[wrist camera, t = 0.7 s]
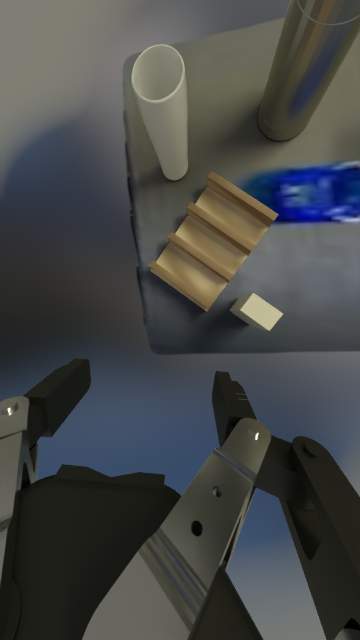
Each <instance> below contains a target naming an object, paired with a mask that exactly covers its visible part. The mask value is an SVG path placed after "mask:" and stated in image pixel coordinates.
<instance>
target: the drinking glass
mask: <svg viewBox="0 0 360 640" xmlns="http://www.w3.org/2000/svg"><path fill="white" fill-rule="evenodd" d="M131 79H132V86H133V90H134V94H135V97H136V101H137V104H138V108H139V111H140V114H141V117H142V120H143V123H144V125H145V128H146V130H147V133H148V135H149V138H150V140H151V143H152V145H153V148H154V150H155V153H156V155H157V158H158V160H159V163H160V165H161V169H162V172H163V174H164V175H165V177H166V178H168V179H170V180H179V179H181V178H182V177H183V176H184V175H185V174H186V172H187V170H188V99H187V85H186V76H185V67H184V62H183V59H182V57H181V55H180V54H179V52H178V51H177V50H176V49H174V48H173V47H171V46H169V45H164V44H159V45H154V46H151V47H149V48H147V49H146V50H145V51H143V52H142V53H141V54H140V56H139V57H138V58H137V60H136V62H135V64H134V66H133V70H132V77H131Z"/></svg>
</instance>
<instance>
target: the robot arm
mask: <svg viewBox="0 0 360 640" xmlns="http://www.w3.org/2000/svg"><path fill="white" fill-rule="evenodd" d="M359 32H360V0H290V4H289V7H288V11H287V15H286V18H285V21H284V25H283V28H282V32H281V35H280V39H279V43H278V46H277V50H276V53H275V57H274V60H273V64H272V67H271V71H270V74H269V78H268V81H267V85H266V88H265V92H264V95H263V99H262V102H261V106H260V109H259V114H258V123H259V127H260V129H261V131H262V132H263V133H264V135H266V136H267V137H268V138H270V139H272V140H276V141H285V140H289V139H292V138H294V137H296V136H297V135H299V134H300V133H301V132H302V131H303V130H304V128H305V127H306V126H307V124H308V122H309V120H310V119H311V117H312V115H313V113H314V111H315V110H316V108H317V106H318V104H319V103H320V101H321V99H322V97H323V96H324V94H325V92H326V90H327V89H328V87H329V85H330V83H331V81H332V80H333V78H334V76H335V74H336V72H337V71H338V69H339V67H340V65H341V64H342V62H343V60H344V58H345V56H346V55H347V53H348V51H349V49H350V48H351V46H352V44H353V42H354V40H355V39H356V37H357V35H358V33H359ZM90 383H91V376H90V364H89V360H88V359H79V358H75V359H73V360H72V361H71V362H69V363H68V364H67V365H64V366H62V367H60V368H58V369H56V370H55V371H53V372H52V373H51V374H50V375H49V376H47V377H46V378H45V379H44V380H43V381H41V382H40V383H39V384H37V385H36V386H35V387H33V388H32V389H31V390H30V391H28V392H27V393H26V394H25V395H24V396H20V397H19V396H18V397H12V398H9V399H6V400H3V401H1V402H0V640H263V638H262V636H261V634H260V633H259V631H258V629H257V627H256V625H255V623H254V622H253V620H252V618H251V616H250V614H249V613H248V611H247V609H246V608H245V605H244V604H243V602H242V600H241V598H240V596H239V595H238V593H237V591H236V589H235V587H234V585H233V584H232V582H231V580H230V578H229V576H228V575H227V573H226V570H227V567H228V564H229V561H230V559H231V556H232V554H233V551H234V548H235V545H236V542H237V539H238V536H239V533H240V530H241V528H242V525H243V522H244V519H245V517H246V514H247V511H248V509H249V506H250V503H251V501H252V498H253V495H254V493H255V490H256V487H257V488H259V489H261V490H263V491H266V492H268V493H270V494H272V495H274V496H276V497H278V498H279V500H280V503H281V506H282V509H283V512H284V515H285V518H286V521H287V524H288V527H289V530H290V533H291V535H292V539H293V541H294V545H295V547H296V550H297V553H298V556H299V559H300V562H301V565H302V568H303V571H304V574H305V577H306V580H307V583H308V586H309V589H310V592H311V595H312V598H313V601H314V604H315V606H316V609H317V613H318V616H319V618H320V621H321V625H322V627H323V630H324V633H325V636H326V639H327V640H360V497H359V495H358V494H357V492H356V491H355V490H354V488H353V487H352V485H351V484H350V482H349V481H348V479H347V478H346V476H345V475H344V473H343V472H342V471H341V469H340V468H339V466H338V465H337V463H336V462H335V460H334V459H333V457H332V456H331V455H330V453H329V452H328V451H327V450H326V449H325V448H324V447H323V446H322V445H320V444H319V443H318V442H316V441H314V440H312V439H310V438H307V437H303V436H298V437H295V438H294V439H293V441H292V443H290V442H287V441H284V440H282V439H279V438H276V437H274V436H272V435H271V434H270V432H269V430H268V429H267V427H266V426H265V425H264V424H262V423H261V422H259V421H257V419H256V416H255V414H254V412H253V410H252V407H251V405H250V403H249V401H248V398H247V396H246V395H245V392H244V390H243V387H242V386H241V385H240V384H239V383H238V382H237V381H231V378H230V375H229V373H228V372H219V371H216V373H215V378H214V384H213V391H212V404H213V409H214V416H215V421H216V427H217V433H218V439H219V444H220V450H219V449H218V448H216V449H215V450H214V451H213V452H212V453H211V455H210V456H209V458H208V459H207V461H206V462H205V464H204V465H203V466H202V468H201V469H200V471H199V472H198V473H197V475H196V476H195V478H194V479H193V481H192V482H191V483H190V485H189V486H188V488H187V489H186V491H185V492H184V493H183V495H182V496H181V495H180V494H179V493H177V492H176V491H175V490H173V489H172V488H170V487H168V486H166V485H164V479H165V475H162V474H153V473H143V472H138V473H132V474H127V475H121V476H116V477H109V476H106V475H104V474H102V473H99V472H97V471H95V470H93V469H91V468H89V467H83V466H72V465H62V466H61V467H60V469H59V470H58V472H57V474H56V475H52V476H49V477H45V478H43V479H40V480H38V481H37V463H38V443H37V441H38V439H39V438H40V437H41V436H43V437H52V436H53V435H54V433H55V432H56V431H57V429H58V428H59V427H60V425H61V424H62V423H63V422H64V421H65V419H66V418H67V416H68V415H69V414H70V413H71V412H72V410H73V409H74V408H75V406H76V405H77V404H78V403H79V401H80V400H81V399H82V397H83V396H84V395H85V394H86V392H87V391H88V389H89V387H90Z"/></svg>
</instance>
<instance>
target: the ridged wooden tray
mask: <svg viewBox="0 0 360 640" xmlns="http://www.w3.org/2000/svg"><path fill="white" fill-rule="evenodd" d="M187 211H188V215H187V217H186V218H185V220H184V221H183V223H182V224H181V226H180V227H179V229H178V230H177V232H176V233H175V234H174V233H173V232H170V233H169V235H168V236H167V238H168V240H169V243H168V245H167V246H166V248H165V249H164V251H163V252H162V254H161V255H160V257H159V258H158V260H157V261H156V262H154V261H153V260H151V262H150V263H149V266H150V267H151V268H152V269H151V270H150V271H151V272H153V273H154V274H155V275H157V276H158V277H160V278H161V279H162V280H164V281H165V282H166V283H168V284H169V285H171V286H172V287H173V288H175V289H176V290H178V291H179V292H180V293H182V294H183V295H184V296H186V297H187V298H189V299H190V300H191V301H193V302H194V303H196V304H197V305H198V306H200V307H201V308H202V309H204V310H205V311H207V310H208V309H209V308H210V307H211V305H212V304H213V302H214V301H215V300H216V298H217V297H218V295H219V294H220V293H221V291H222V290H223V289H224V287H225V286H226V285H227V283H228V282H229V281H230V280H231V278H232V277H233V276H234V274H235V272H236V271H237V270H238V268H239V267H240V266H241V264H242V263H243V262H244V260H245V259H246V257H247V256H248V255H249V254H250V252H251V251H252V250H253V248H254V247H255V246H256V244H257V243H258V241H259V240H260V238H261V237H262V236H263V234H264V233H265V232H266V230H267V229H268V228H269V226H270V225H271V224H272V223H273V221H274V220H275V219H276V217H277V216H278V214H277V213H275V212H274V211H272V210H271V209H269V208H268V207H266V206H265V205H263V204H262V203H260V202H259V201H257V200H256V199H254V198H253V197H251V196H249V195H248V194H246V193H245V192H243V191H242V190H240V189H239V188H237V187H236V186H234V185H233V184H231V183H230V182H228V181H227V180H225V179H224V178H222V177H221V176H219V175H217V174H216V173H214V172H213V171H211V172H210V174H209V175H208V177H207V187H206V189H205V190H204V192H203V193H202V195H201V196H200V198H199V199H198V200H197V202H196V203H195V204H194V203H192V202H190V204H189V205H188V207H187Z"/></svg>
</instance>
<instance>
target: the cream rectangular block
mask: <svg viewBox="0 0 360 640" xmlns="http://www.w3.org/2000/svg"><path fill="white" fill-rule="evenodd" d="M229 311H231V312H232V313H233V314H235V315H236V316H238V317H239V318H240V319H242V320H243V321H245V322H246V323H247V324H249V325H251V326H254V327H258V328H261V329H264V330H268V331H270V330H271V328H272V327H273V326H274V325H275V323H276V322H277V321H278V320H279V318H280V317H281V316H282V315H283V313H281V312H280V311H278V310H277V309H276V308H274V307H273V306H271V305H270V304H268V303H267V302H266V301H264V300H263V299H261V298H260V297H258V296H257V295H256V294H254V293H251V294H249V295H246V296H243V297H240V298H238V299H237V300H236V302H235V303H234V304H233V306H232V307H231V308H230V310H229Z"/></svg>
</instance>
